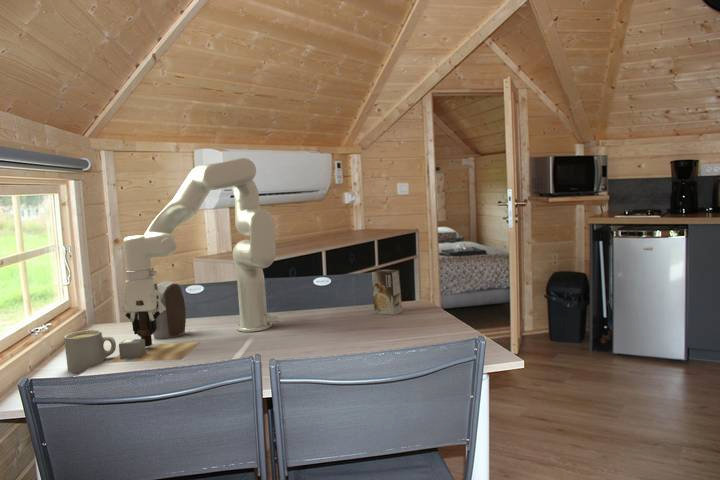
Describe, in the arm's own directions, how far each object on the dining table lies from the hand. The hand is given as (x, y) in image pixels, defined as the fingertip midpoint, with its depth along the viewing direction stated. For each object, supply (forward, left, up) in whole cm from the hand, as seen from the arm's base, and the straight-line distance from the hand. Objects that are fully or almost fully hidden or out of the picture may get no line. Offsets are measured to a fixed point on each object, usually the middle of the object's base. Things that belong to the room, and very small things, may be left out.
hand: (145, 332), depth 184 cm
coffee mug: (+12, +12, -7) cm, 18 cm away
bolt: (0, 0, -5) cm, 5 cm away
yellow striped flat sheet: (-5, +5, -7) cm, 9 cm away
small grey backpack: (0, -17, -7) cm, 19 cm away
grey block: (+1, +8, -5) cm, 10 cm away
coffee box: (-76, -40, -7) cm, 87 cm away
